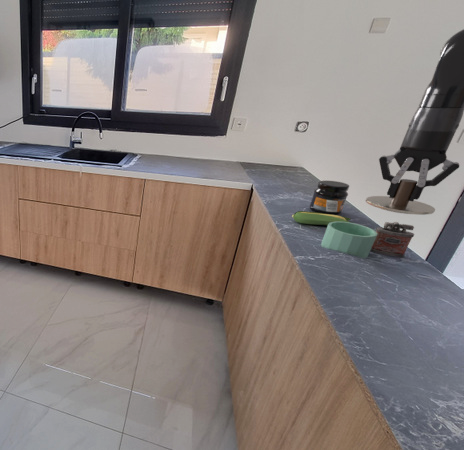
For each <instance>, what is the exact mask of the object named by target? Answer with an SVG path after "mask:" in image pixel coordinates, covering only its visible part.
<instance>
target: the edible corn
mask: <svg viewBox="0 0 464 450" xmlns="http://www.w3.org/2000/svg"><path fill="white" fill-rule="evenodd" d="M291 218H293V220H294V221H295V222H296V223H299V224H302V225H313V226H314V225H315V226H316V225H317V226H328V224H329V223H330V222H349V223H351V222H350V221H352V219H351V218H350V217H346V216H341V215H330V214H324V213H316V212H313V211H308V210H307V211H305V210H298V211H295V213H294V214H292V215H291Z"/></svg>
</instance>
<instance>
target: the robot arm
mask: <svg viewBox="0 0 464 450" xmlns="http://www.w3.org/2000/svg"><path fill="white" fill-rule="evenodd" d="M463 117H464V28H463V29H461V30H460V31H458V32H456V33H454V34H453V35H452V36H451V37H449V38H448V40H446V41H445V42H444V44H443V45H442V47H441V49H440V51H439V59H438V62H437V64H436V67H435V69H434V73H433V75H432V78H431V80H430V82H429V83H428V84H427V87H426V88H425V90H424V92H423V95H422V97H421V99H420V102H419V104H418V107H417V109H416V110H415V112H414V114H413V116H412V117H411V120H410V122H409V123H408V127H407V129H406V132H405V135H404V137H403V139H402V142H401V145H400V147H399V149H398V150H397V151H396V152H394V154H389V155H382V156H380V157H379V158H378V162H379V166H380V171H381V175H382V179H383V180H384V181H388V182H390V185H389V186H388V189H387V192H386V196H389V198H393V197H394V194H395V192H396V190H397V187H398V185H399V182H400V180H401V179H402V177H403V176H404V175H405V174H406V172H415V173H419V174H418V180H417V182H418V183H417V185H416V187H415V189H414V191H413V193H412V196H411V198H410V200H409V201H417V200H419V199H420V197H421V195H422V192H423V190H424V189H425V188H426V187H436V186H437V185H439V184H440V183H441V182H443V181H444V180H445V179H446V178H448V177H449V176H450V175H451V174H453V173H454V172H455V171H457V170H458V169H459V168H460V163H459V162H457V161H455V162H454V161H453V160H450V159H448V158H447V151H448V150H449V147H450V145H451V144H452V141H453V138H454V136H455V134H456V132H457V130H458V129H459V127H460V123H461V121H462V119H463ZM394 159H395V162H396V163H397V165H398V167H399V169H398V171H397V172H396V173H395V175H393V174H391V170H390V164H391V163H392V162H393V160H394ZM441 164H443V166H442V167H441V170H442V171H441V172H439V173H438V174H437V175H436V176H435V177H433V178H432V179H427V178H428V175H429V174H428V173H429V171H432V169H434V168H436V167H438V166H439V165H441Z"/></svg>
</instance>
